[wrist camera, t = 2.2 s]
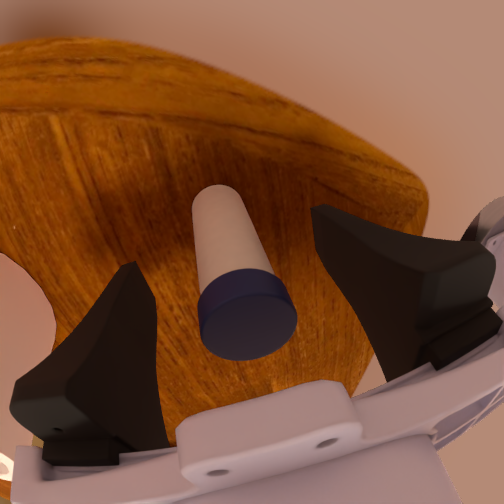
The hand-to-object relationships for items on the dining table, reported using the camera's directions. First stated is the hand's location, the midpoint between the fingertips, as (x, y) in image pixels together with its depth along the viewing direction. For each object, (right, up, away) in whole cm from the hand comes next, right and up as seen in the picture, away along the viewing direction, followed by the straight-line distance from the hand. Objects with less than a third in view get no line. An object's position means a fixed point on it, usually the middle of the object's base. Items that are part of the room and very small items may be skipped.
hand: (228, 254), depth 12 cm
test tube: (-1, +2, +4) cm, 4 cm away
